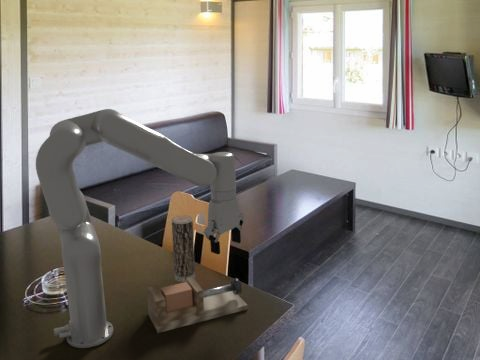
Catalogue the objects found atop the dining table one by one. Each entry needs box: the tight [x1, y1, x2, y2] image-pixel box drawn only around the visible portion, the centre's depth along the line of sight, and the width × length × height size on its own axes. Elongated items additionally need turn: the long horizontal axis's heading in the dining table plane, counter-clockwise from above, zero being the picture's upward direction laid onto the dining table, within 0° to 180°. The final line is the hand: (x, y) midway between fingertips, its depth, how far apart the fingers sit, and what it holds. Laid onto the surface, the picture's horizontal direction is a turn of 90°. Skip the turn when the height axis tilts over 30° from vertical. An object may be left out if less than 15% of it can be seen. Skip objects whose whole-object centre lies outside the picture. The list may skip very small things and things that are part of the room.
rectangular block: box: [160, 282, 193, 313], centre depth 136 cm, size 8×5×8 cm, turn 115°
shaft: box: [192, 277, 242, 301], centre depth 141 cm, size 16×5×5 cm, turn 115°
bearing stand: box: [146, 278, 248, 334], centre depth 139 cm, size 28×11×10 cm, turn 115°
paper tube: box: [171, 214, 196, 285], centre depth 151 cm, size 7×7×25 cm
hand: (226, 247), depth 139 cm, fingers open, 9 cm apart
